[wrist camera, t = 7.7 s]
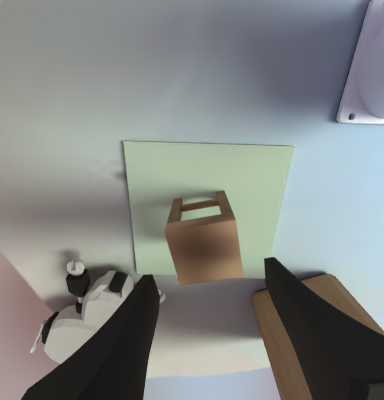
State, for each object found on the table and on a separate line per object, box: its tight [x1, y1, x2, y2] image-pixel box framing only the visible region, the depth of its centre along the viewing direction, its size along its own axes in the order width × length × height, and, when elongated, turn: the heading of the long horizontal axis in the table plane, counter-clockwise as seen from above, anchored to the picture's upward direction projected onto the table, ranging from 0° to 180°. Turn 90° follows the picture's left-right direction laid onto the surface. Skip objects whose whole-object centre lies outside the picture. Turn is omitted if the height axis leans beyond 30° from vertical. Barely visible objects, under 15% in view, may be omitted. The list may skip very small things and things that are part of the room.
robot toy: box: [30, 260, 165, 364], centre depth 24 cm, size 12×4×15 cm
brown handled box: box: [164, 190, 244, 285], centre depth 17 cm, size 5×5×6 cm
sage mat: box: [123, 141, 294, 279], centre depth 20 cm, size 15×15×1 cm
